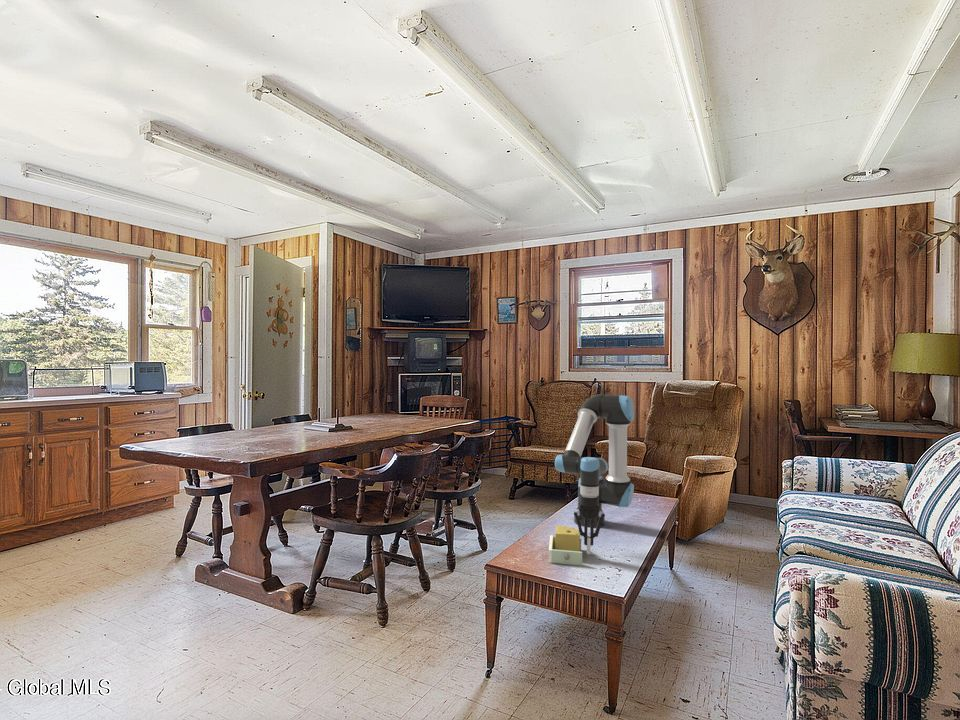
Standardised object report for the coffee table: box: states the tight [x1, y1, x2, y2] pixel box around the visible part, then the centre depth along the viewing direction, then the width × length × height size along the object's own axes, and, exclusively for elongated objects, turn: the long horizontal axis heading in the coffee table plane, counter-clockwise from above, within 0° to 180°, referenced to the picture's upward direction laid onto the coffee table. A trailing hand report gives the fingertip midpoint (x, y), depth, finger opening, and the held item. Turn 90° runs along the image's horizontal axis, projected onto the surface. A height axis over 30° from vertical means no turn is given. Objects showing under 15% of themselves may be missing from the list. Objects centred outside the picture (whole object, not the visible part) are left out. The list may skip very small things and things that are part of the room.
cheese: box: [555, 525, 582, 552], centre depth 214 cm, size 10×11×10 cm
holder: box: [548, 534, 583, 566], centre depth 212 cm, size 19×13×5 cm
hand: (588, 552), depth 211 cm, fingers closed
